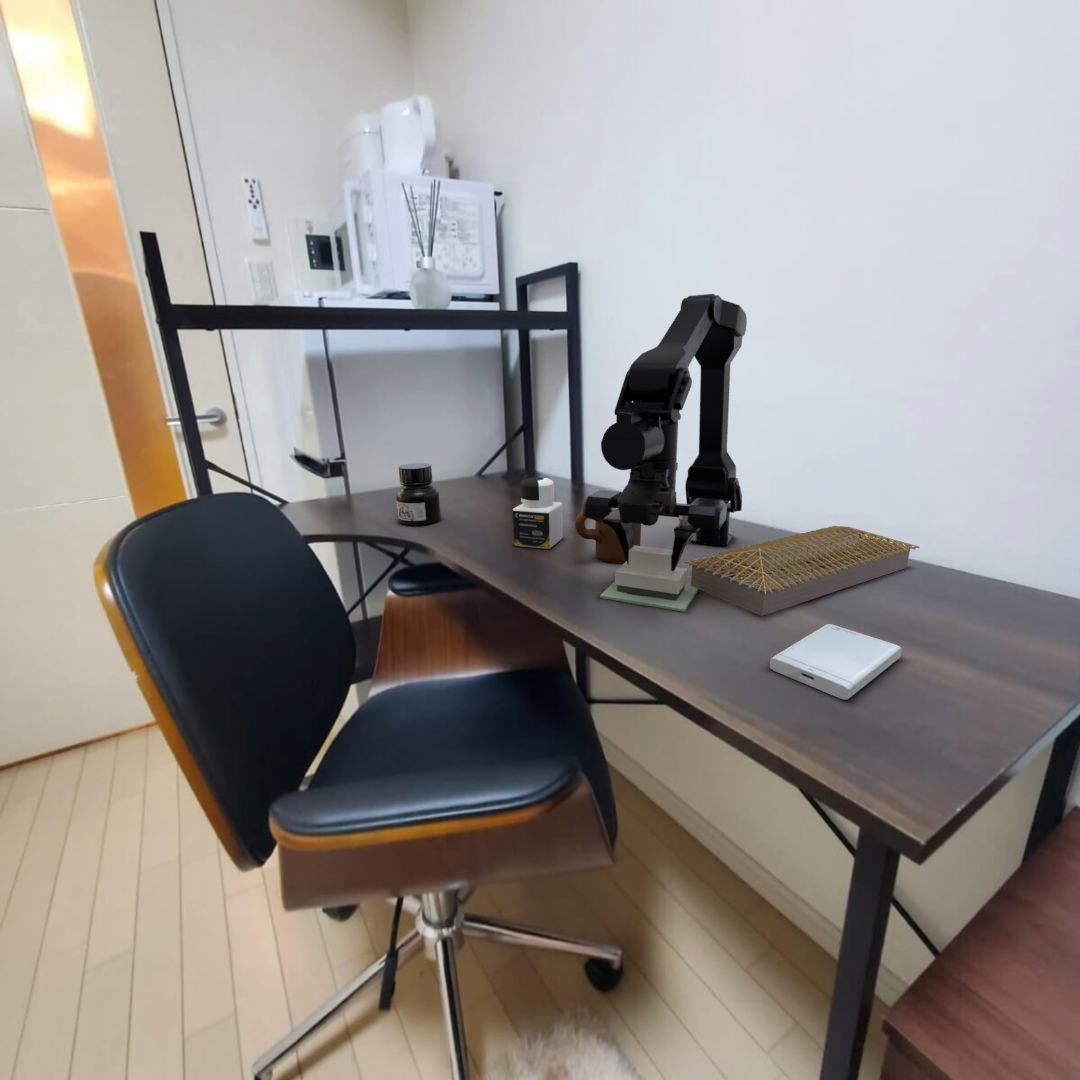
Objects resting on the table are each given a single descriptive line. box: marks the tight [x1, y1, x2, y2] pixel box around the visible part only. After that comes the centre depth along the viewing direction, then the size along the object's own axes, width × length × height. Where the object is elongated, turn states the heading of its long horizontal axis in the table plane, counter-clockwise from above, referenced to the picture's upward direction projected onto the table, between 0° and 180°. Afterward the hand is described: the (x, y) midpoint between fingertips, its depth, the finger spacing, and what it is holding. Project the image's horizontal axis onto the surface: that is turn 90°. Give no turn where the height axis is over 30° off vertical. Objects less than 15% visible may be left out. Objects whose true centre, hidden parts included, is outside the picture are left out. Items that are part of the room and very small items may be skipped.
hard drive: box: [769, 623, 902, 701], centre depth 62 cm, size 2×8×12 cm
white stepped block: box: [614, 545, 688, 600], centre depth 81 cm, size 5×9×6 cm, turn 63°
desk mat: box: [599, 580, 700, 613], centre depth 82 cm, size 9×12×1 cm
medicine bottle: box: [512, 476, 564, 550], centre depth 105 cm, size 7×7×12 cm
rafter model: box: [683, 525, 920, 617], centre depth 86 cm, size 35×14×6 cm, turn 120°
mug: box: [574, 510, 642, 564], centre depth 96 cm, size 12×8×9 cm, turn 117°
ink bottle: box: [395, 462, 442, 526], centre depth 122 cm, size 10×9×12 cm
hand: (651, 567), depth 81 cm, fingers closed on white stepped block, 6 cm apart
